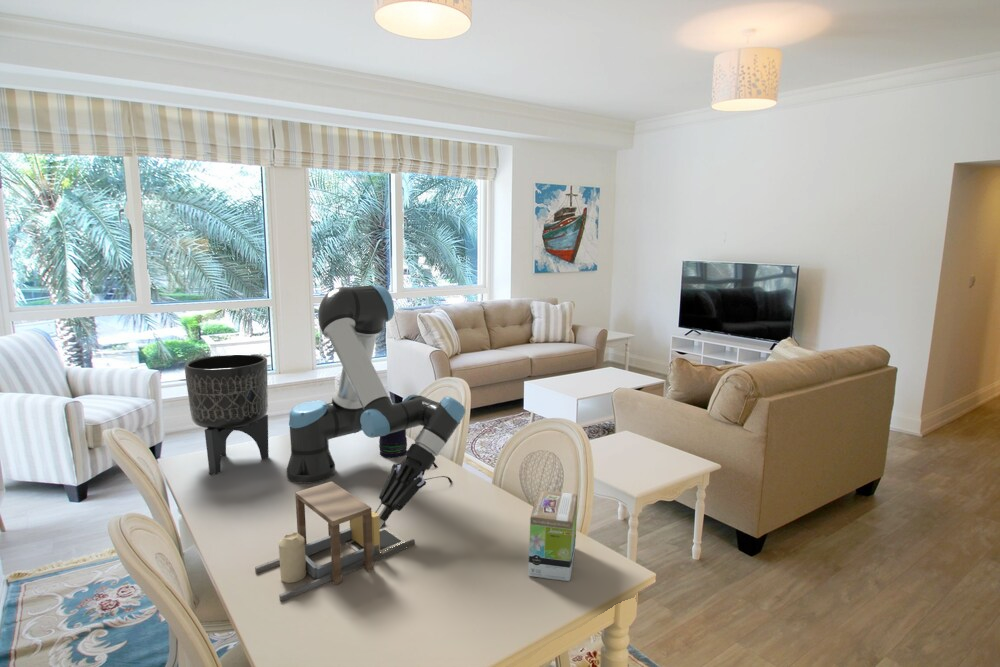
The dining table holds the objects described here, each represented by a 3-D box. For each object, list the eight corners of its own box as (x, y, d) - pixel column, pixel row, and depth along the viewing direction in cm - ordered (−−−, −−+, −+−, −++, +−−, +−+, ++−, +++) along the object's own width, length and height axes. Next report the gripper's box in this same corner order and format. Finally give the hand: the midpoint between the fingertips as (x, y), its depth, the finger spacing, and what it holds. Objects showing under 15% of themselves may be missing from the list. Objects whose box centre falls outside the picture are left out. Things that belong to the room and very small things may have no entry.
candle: (299, 566, 133) (296, 526, 132) (311, 575, 130) (308, 535, 128) (276, 576, 129) (273, 535, 128) (288, 586, 126) (285, 544, 124)
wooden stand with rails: (251, 567, 133) (247, 506, 130) (379, 520, 155) (377, 467, 153) (285, 606, 118) (281, 539, 116) (420, 548, 141) (419, 490, 139)
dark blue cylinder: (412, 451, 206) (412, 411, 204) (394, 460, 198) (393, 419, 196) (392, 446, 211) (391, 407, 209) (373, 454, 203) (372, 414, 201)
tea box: (571, 582, 128) (573, 521, 125) (527, 577, 130) (528, 516, 127) (576, 547, 142) (577, 492, 140) (536, 543, 144) (537, 488, 142)
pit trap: (346, 543, 143) (345, 542, 143) (385, 528, 151) (385, 527, 151) (365, 558, 136) (365, 558, 136) (406, 542, 144) (406, 541, 144)
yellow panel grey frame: (294, 558, 136) (291, 519, 134) (355, 535, 146) (354, 498, 145) (316, 580, 127) (314, 538, 125) (380, 553, 138) (378, 515, 136)
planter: (180, 463, 195) (171, 361, 189) (251, 443, 213) (245, 351, 208) (212, 483, 179) (204, 373, 173) (286, 460, 198) (281, 360, 192)
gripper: (448, 463, 148) (395, 546, 140) (419, 450, 158) (368, 526, 149) (431, 449, 144) (375, 533, 135) (402, 436, 153) (349, 514, 145)
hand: (371, 529), depth 142 cm, fingers closed
